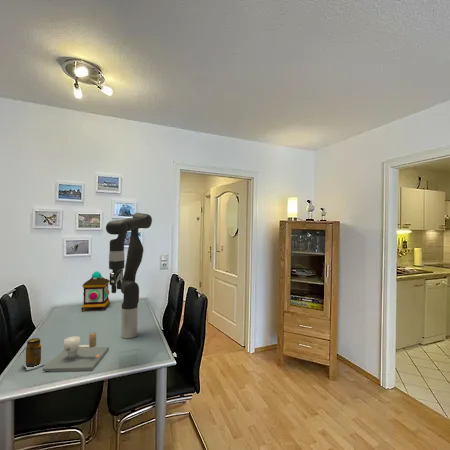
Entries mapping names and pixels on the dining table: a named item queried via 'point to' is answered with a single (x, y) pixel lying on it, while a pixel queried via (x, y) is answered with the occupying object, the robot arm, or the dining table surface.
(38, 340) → the condiment
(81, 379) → the dining table surface
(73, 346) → the cream maraca
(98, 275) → the decorative lantern
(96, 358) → the board
